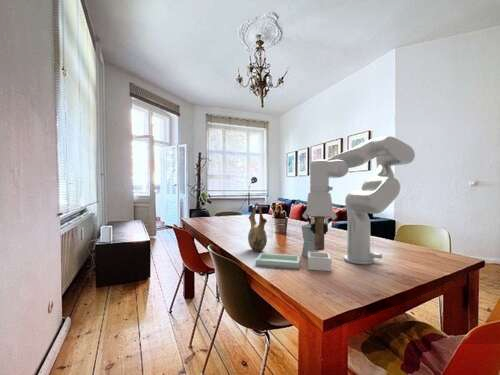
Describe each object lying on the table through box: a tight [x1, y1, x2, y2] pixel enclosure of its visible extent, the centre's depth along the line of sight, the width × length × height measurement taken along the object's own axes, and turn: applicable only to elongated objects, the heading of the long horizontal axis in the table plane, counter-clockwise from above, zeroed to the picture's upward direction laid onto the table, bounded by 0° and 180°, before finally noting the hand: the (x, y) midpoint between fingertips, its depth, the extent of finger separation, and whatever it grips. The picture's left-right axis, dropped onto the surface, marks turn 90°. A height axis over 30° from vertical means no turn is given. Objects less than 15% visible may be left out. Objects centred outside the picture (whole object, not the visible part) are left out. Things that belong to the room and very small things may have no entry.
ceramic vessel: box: [247, 202, 268, 253], centre depth 129 cm, size 16×9×25 cm, turn 27°
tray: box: [255, 252, 301, 270], centre depth 108 cm, size 18×11×2 cm, turn 77°
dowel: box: [314, 216, 325, 251], centre depth 104 cm, size 4×4×14 cm
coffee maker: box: [301, 221, 320, 259], centre depth 121 cm, size 15×9×18 cm, turn 161°
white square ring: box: [307, 251, 332, 272], centre depth 104 cm, size 9×9×5 cm
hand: (319, 232), depth 104 cm, fingers closed on dowel, 4 cm apart
